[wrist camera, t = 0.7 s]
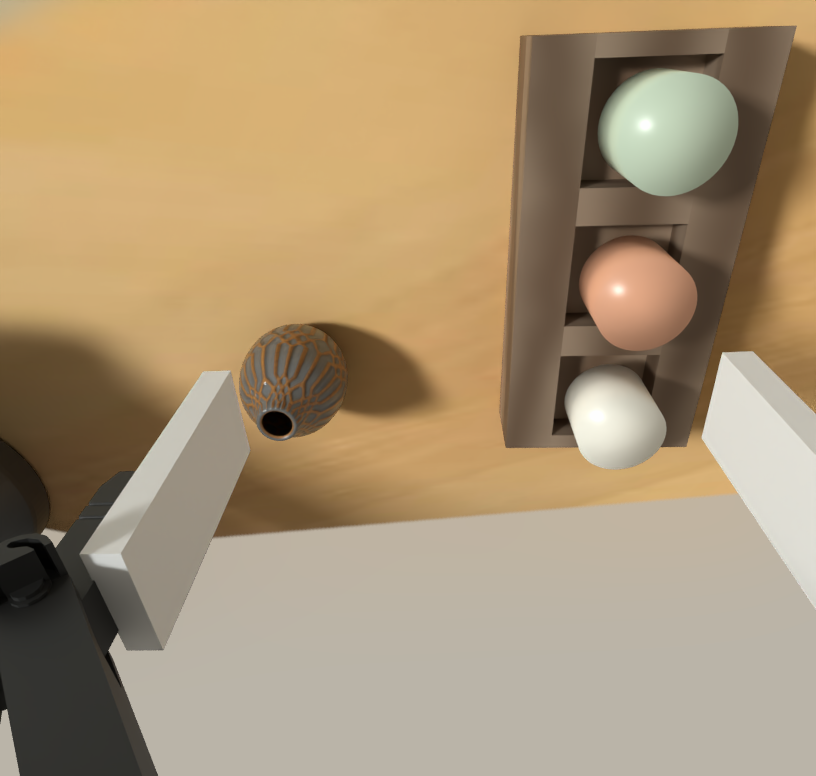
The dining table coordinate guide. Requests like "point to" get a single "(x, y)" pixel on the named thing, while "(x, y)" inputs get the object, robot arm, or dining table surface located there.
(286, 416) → the vase
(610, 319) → the button terracotta
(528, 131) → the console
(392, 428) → the dining table surface
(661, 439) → the button cream
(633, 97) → the button sage
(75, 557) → the robot arm
